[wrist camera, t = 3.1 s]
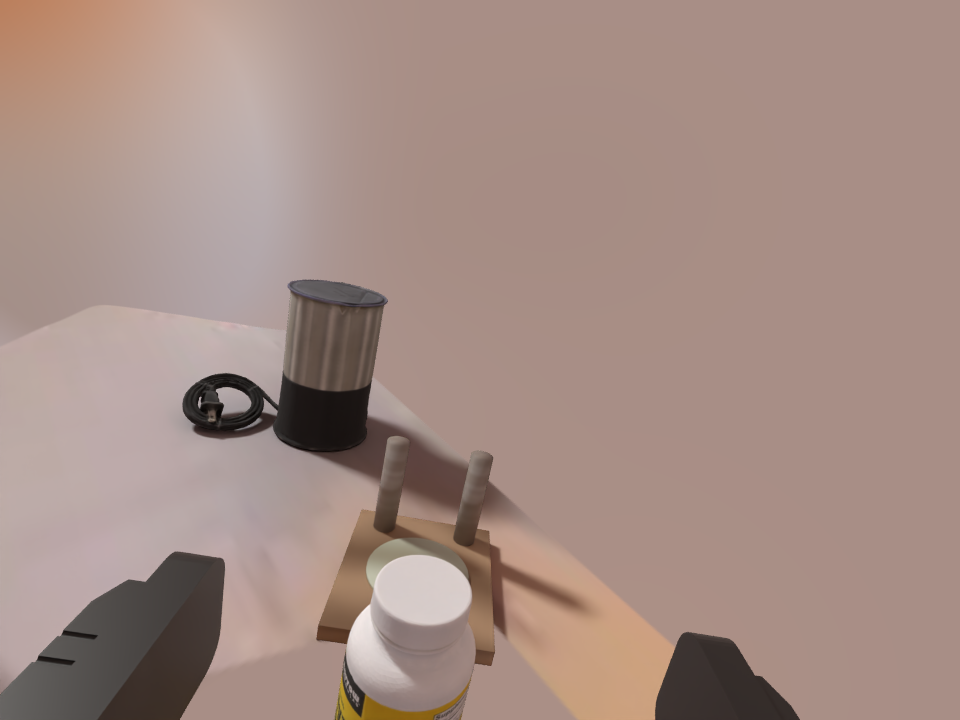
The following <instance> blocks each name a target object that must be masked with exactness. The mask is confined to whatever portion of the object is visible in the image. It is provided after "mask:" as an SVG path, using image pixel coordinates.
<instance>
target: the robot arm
mask: <svg viewBox="0 0 960 720" xmlns="http://www.w3.org/2000/svg"><path fill="white" fill-rule="evenodd" d="M224 574H225V563H224V560H223V559H222V558H216V557H210V556H204V555H197V554H191V553H184V552H174V553H172V554H171V555H169V556H168V557H167V558H166V560H165V561H164V562H163V563H162V564H161V565H160V566H159V567H158V569H157V570H156V571H155V572H154V573H153V574H152V575H151V576H150V578H149V579H148V580H147V581H146V582H142V581H135V580H129V579H128V580H127V581H125V582H123V583H122V584H120V585H118V586H117V587H115V588H113V589H112V590H110V591H108V592H107V593H105V594H103V595H101V596H100V597H98V598H96V599H95V600H93V601H91V602H90V604H89V605H88V606H87V607H86V608H85V609H84V610H83V611H82V612H81V613H80V614H79V615H78V616H77V617H76V618H75V619H74V620H73V621H72V622H71V623H70V624H69V625H68V626H67V627H66V628H65V629H64V630H63V633H62V635H61V636H60V637H59V636H57V637H56V638H55V639H54V640H53V641H52V642H51V643H50V644H49V645H48V646H47V647H46V648H45V649H44V650H43V651H42V652H41V653H40V654H39V655H38V659H37V661H36V662H35V663H34V662H32V663H31V664H30V665H29V666H28V667H27V668H26V669H25V670H24V671H23V672H22V673H21V674H20V675H19V676H18V677H17V678H16V679H15V680H14V681H13V682H12V683H11V684H10V685H9V686H8V687H7V688H6V689H5V690H4V691H3V692H2V693H1V694H0V720H180V718H181V716H182V715H183V713H184V711H185V709H186V708H187V706H188V704H189V702H190V701H191V699H192V697H193V695H194V694H195V692H196V690H197V689H198V687H199V685H200V683H201V682H202V680H203V678H204V677H205V675H206V673H207V671H208V669H209V667H210V664H211V662H212V660H213V657H214V654H215V651H216V648H217V645H218V641H219V636H220V629H221V615H222V601H223V588H224ZM655 720H800V719H799V718H798V716H797V714H796V713H795V712H794V710H793V708H792V707H791V705H790V704H788V702H787V701H785V699H784V698H782V697H781V695H780V694H779V693H778V692H776V690H775V689H774V688H772V687H771V685H770V684H769V683H768V682H767V681H766V680H765V679H764V678H763V677H761V676H755V675H754V673H753V672H752V670H751V669H750V667H749V665H748V664H747V662H746V660H745V659H744V657H743V655H742V654H741V652H740V650H739V649H738V647H737V646H736V644H735V643H734V642H733V641H731V640H730V639H727V638H722V637H715V636H709V635H703V634H697V633H689V632H686V633H683V634H682V635H681V637H680V638H679V640H678V642H677V645H676V648H675V650H674V653H673V656H672V659H671V661H670V664H669V667H668V669H667V672H666V675H665V677H664V680H663V683H662V685H661V688H660V691H659V693H658V697H657V701H656V708H655Z"/></svg>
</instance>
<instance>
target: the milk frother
mask: <svg viewBox="0 0 960 720" xmlns="http://www.w3.org/2000/svg"><path fill="white" fill-rule="evenodd" d="M288 288H289V289H290V290H291V295H290V304H289V315H288V325H287V334H286V345H285V355H284V366H283V376H282V385H281V393H280V400H279V406H278V405H277V404H276V403H275V402H273V401H272V400H271V399H270V397H269V396H268V395H267V394H266V393H265V392H264V391H263V390H262V389H261V388H260V387H259V386H257V385H256V384H255V383H253V382H252V381H251V380H249V379H247V378H246V377H242V376H239V375H235V374H229V373H223V374H215V375H211V376H209V377H206V378H204V379H202V380H200V381H199V382H197V383H195V384H194V385H193V386H192V387H191V388H190V389H189V390H188V391H187V392H186V394H185V396H184V398H183V412H184V414H185V416H186V417H187V418H188V419H189V420H190V421H191V422H192V423H194V424H196V425H198V426H201V427H204V428H208V429H214V430H234V429H240V428H244V427H246V426H248V425H250V424H252V423H253V422H255V421H256V419H257V418H259V416H260V415H261V413H262V411H263V407H264V400H263V398H265V399H266V400H267V401H268V402H269V403H270V404H271V405H272V406H273V407H274V408H275V409H276V410H278V413H277V418H276V420H275V421H274V424H273V430H274V432H275V434H276V435H277V436H278V437H279V438H280V439H282V440H283V441H285V442H287V443H289V444H291V445H293V446H296V447H300V448H303V449H308V450H316V451H337V450H343V449H347V448H350V447H353V446H355V445H358V444H359V443H361V442H362V441H363V440H364V439H365V437H366V434H367V429H366V426H365V424H366V420H367V414H368V411H367V407H368V401H369V394H370V388H371V382H372V376H373V370H374V364H375V358H376V352H377V346H378V339H379V333H380V327H381V320H382V314H383V308H384V305H385V304H386V303H387V302H388V300H387V299H386V297H384V296H383V295H381V294H379V293H377V292H375V291H372V290H369V289H366V288H363V287H360V286H355V285H351V284H346V283H343V282H341V283H340V282H330V281H324V280H297V281H292V282H290V283H289V284H288ZM222 387H231V388H235V389H238V390H240V391H242V392H244V393H245V394H246V395H248V397H249V398H250V400H251V407H250V409H249V410H248V411H246V412H245V413H243V414H241V415H239V416H236V417H231V418H221V414H222V411H223V408H224V404H223V403H221V402H219V398H218V393H217V392H216V389H218V388H222ZM199 397H202V398H201V403H202V404H201V407H200V409H199V407H198V401H199Z"/></svg>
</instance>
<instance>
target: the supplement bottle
mask: <svg viewBox="0 0 960 720" xmlns="http://www.w3.org/2000/svg"><path fill="white" fill-rule="evenodd" d="M471 603H472V590H471V586H470V584H469V581H468V580H467V578H466V577H465V576H464V574H463V573H462V572H461V571H460V570H459V569H458V568H456V567H455V566H453V565H452V564H450V563H448V562H446V561H444V560H442V559H439V558H436V557H432V556H426V555H409V556H404V557H400V558H397V559H395V560H393V561H391V562H389V563H388V564H387V565H385V566H384V567H383V568H382V569H381V571H380V572H379V574H378V575H377V578H376V580H375V584H374V589H373V595H372V599H371V604H370V605H368V606H367V607H366V608H365V609H364V610H363V611H362V612H361V614H360V615H359V616H358V617H357V619H356V620H355V622H354V624H353V626H352V629H351V631H350V634H349V638H348V642H347V646H346V652H345V658H344V665H343V671H342V678H341V683H340V689H339V695H338V702H337V708H336V713H335V720H461V716H462V712H463V708H464V705H465V700H466V696H467V692H468V689H469V684H470V681H471V677H472V673H473V668H474V663H475V655H476V647H475V639H474V635H473V632H472V630H471V627H470V625H469V623H468V618H469V613H470V608H471Z"/></svg>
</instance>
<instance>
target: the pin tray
mask: <svg viewBox="0 0 960 720" xmlns="http://www.w3.org/2000/svg"><path fill="white" fill-rule="evenodd" d="M409 447H410V441H409V440H408V439H407V438H404V437H401V436H392V437H389V438H388V440H387V446H386V452H385V458H384V464H383V470H382V476H381V482H380V488H379V494H378V500H377V506H376V512H374V511H368V510H362V511H361V513H360V516H359V519H358V521H357V524H356V527H355V529H354V532H353V534H352V537H351V540H350V542H349V545H348V548H347V550H346V553H345V556H344V558H343V561H342V564H341V566H340V569H339V572H338V574H337V577H336V580H335V582H334V585H333V588H332V590H331V593H330V596H329V598H328V601H327V604H326V606H325V609H324V612H323V614H322V617H321V620H320V622H319V625H318V632H317V640H324V641H330V642H337V643H344V644H347V642H348V638H349V634H350V631H351V629H352V626H353V624H354V622H355V620H356V619H357V617H358V616H359V615H360V614H361V612H362V611H363V610H364V609H365V608H366V607H367V606H368V605H370V604H371V599H372V595H373V589H374V584H375V580H376V578H377V575H378V574H379V572H380V571H381V569H382V568H383V567H384V566H385V565H387V564H388V563H389V562H391V561H393V560H395V559H397V558H400V557H404V556H409V555H426V556H432V557H436V558H439V559H442V560H444V561H446V562H448V563H450V564H452V565H453V566H455V567H456V568H458V569H459V570H460V571H461V572H462V573H463V574H464V576H465V577H466V578H467V580H468V581H469V584H470V586H471V590H472V603H471V608H470V613H469V618H468V623H469V625H470V627H471V630H472V632H473V635H474V639H475V647H476V655H475V664H482V665H488V666H491V665H492V661H493V657H494V653H495V646H494V625H493V603H492V582H491V560H490V539H489V531H486V530H481V529H477V527H478V522H479V518H480V514H481V509H482V505H483V501H484V496H485V492H486V488H487V483H488V479H489V475H490V470H491V466H492V462H493V456H492V455H490V454H489V453H487V452H484V451H473V452H472V453H471V457H470V462H469V467H468V471H467V476H466V480H465V485H464V490H463V494H462V499H461V503H460V508H459V513H458V517H457V522H456V525H451V524H445V523H439V522H433V521H427V520H421V519H416V518H410V517H404V516H398V515H397V513H398V508H399V502H400V497H401V491H402V486H403V480H404V474H405V469H406V463H407V458H408V452H409Z"/></svg>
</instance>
